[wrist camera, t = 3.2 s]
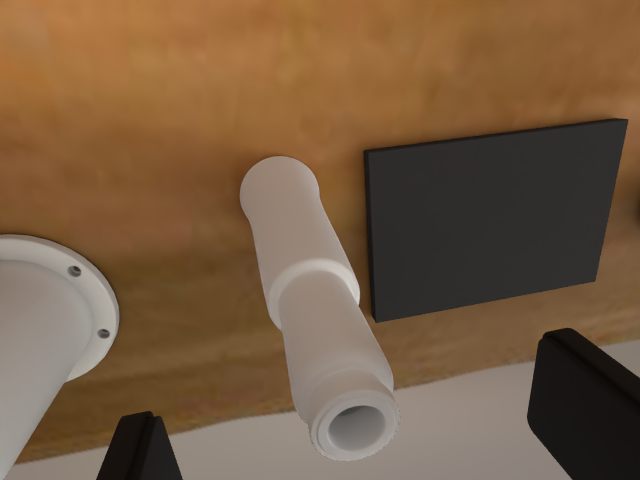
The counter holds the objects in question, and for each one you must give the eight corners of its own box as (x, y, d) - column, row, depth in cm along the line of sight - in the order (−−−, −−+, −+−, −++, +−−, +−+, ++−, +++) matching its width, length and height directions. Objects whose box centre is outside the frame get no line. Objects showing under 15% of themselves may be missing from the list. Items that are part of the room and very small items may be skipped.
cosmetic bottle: (333, 184, 30) (523, 384, 9) (290, 245, 31) (374, 539, 11) (268, 139, 27) (331, 269, 7) (224, 206, 29) (172, 479, 8)
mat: (371, 316, 35) (375, 323, 34) (363, 150, 29) (368, 152, 28) (585, 276, 38) (595, 281, 36) (615, 118, 32) (629, 119, 31)
